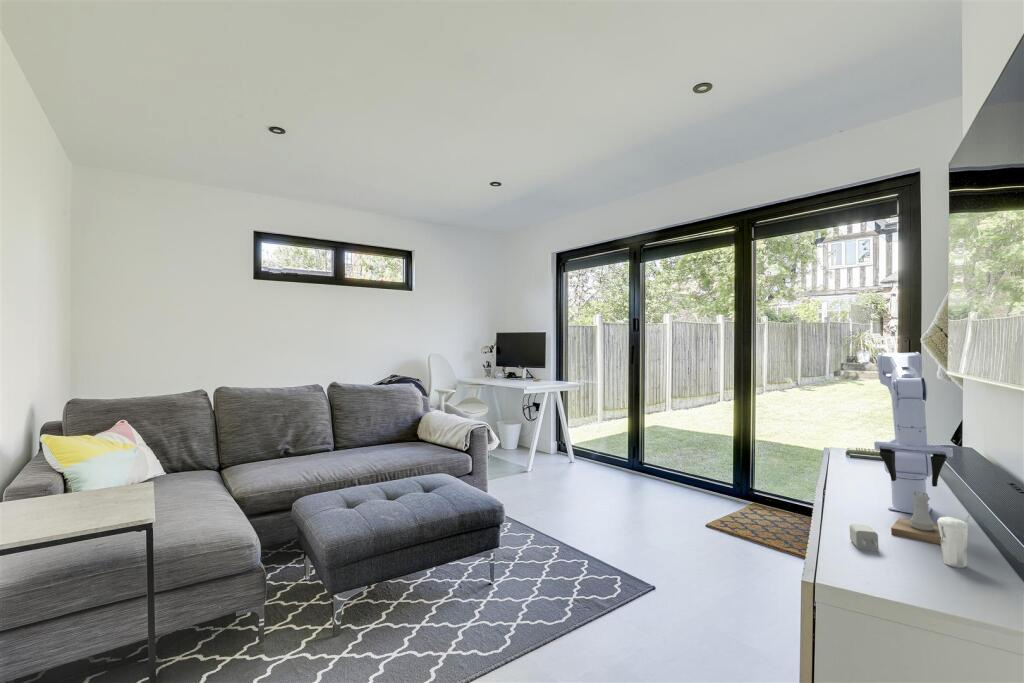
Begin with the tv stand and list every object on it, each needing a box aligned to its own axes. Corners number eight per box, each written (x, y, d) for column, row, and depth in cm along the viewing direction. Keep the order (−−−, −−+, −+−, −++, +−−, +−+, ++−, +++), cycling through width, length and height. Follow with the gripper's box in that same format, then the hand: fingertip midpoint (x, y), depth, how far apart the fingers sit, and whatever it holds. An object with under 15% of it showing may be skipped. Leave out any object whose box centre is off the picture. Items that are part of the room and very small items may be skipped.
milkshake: (981, 570, 91) (978, 518, 92) (949, 568, 92) (946, 516, 93) (964, 560, 96) (961, 510, 96) (933, 559, 97) (931, 509, 97)
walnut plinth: (899, 523, 117) (899, 517, 117) (954, 534, 110) (954, 527, 110) (891, 534, 110) (891, 527, 110) (949, 546, 103) (949, 539, 103)
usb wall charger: (871, 543, 105) (870, 525, 105) (883, 556, 99) (882, 536, 99) (850, 541, 107) (849, 523, 107) (860, 553, 100) (859, 534, 100)
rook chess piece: (904, 525, 112) (902, 491, 112) (920, 524, 112) (919, 490, 113) (923, 532, 107) (922, 496, 107) (940, 530, 108) (938, 495, 108)
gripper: (870, 425, 119) (873, 480, 118) (948, 431, 108) (952, 491, 107) (876, 423, 124) (879, 476, 123) (952, 428, 113) (955, 486, 112)
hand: (913, 483), depth 115 cm, fingers open, 7 cm apart
